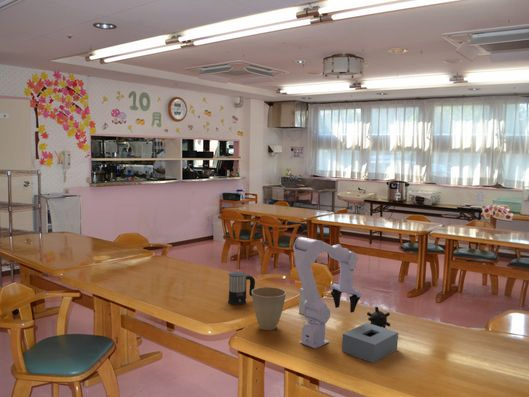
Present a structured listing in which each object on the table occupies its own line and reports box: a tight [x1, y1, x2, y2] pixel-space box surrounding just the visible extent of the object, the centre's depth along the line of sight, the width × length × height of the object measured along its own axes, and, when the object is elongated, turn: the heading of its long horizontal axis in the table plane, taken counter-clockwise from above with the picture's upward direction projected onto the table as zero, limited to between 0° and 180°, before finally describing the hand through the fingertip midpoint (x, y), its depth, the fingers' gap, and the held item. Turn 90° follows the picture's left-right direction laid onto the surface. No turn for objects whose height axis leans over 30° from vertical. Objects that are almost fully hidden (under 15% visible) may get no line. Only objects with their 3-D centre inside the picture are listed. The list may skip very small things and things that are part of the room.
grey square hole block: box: [341, 322, 399, 364], centre depth 181 cm, size 18×14×7 cm
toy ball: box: [366, 306, 391, 328], centre depth 204 cm, size 10×10×11 cm
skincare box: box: [298, 287, 306, 316], centre depth 221 cm, size 6×4×12 cm
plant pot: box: [251, 286, 287, 331], centre depth 200 cm, size 15×15×16 cm
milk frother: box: [227, 271, 256, 306], centre depth 237 cm, size 14×16×15 cm
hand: (344, 309), depth 197 cm, fingers open, 7 cm apart
